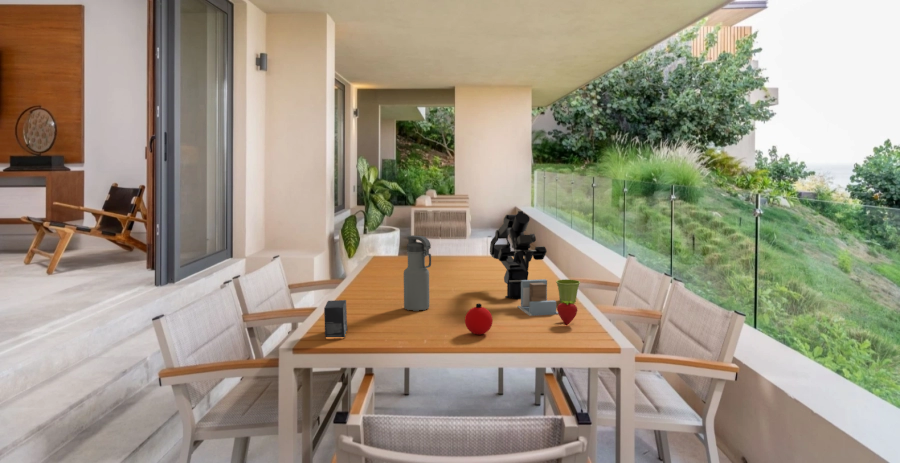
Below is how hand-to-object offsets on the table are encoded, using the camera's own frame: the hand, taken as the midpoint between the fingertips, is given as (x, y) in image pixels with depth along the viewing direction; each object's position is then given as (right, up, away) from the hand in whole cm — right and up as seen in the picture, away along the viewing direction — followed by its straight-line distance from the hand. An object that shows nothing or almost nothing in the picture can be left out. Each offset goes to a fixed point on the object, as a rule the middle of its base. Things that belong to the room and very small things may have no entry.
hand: (526, 270), depth 240 cm
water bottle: (-43, -14, -4) cm, 45 cm away
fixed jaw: (+4, -15, -16) cm, 23 cm away
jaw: (+2, -13, -7) cm, 15 cm away
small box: (-67, -18, -40) cm, 80 cm away
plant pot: (+17, -13, +5) cm, 22 cm away
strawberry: (+10, -17, -29) cm, 35 cm away
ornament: (-21, -18, -40) cm, 49 cm away
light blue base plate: (+3, -15, -11) cm, 19 cm away
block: (+3, -14, -11) cm, 18 cm away
